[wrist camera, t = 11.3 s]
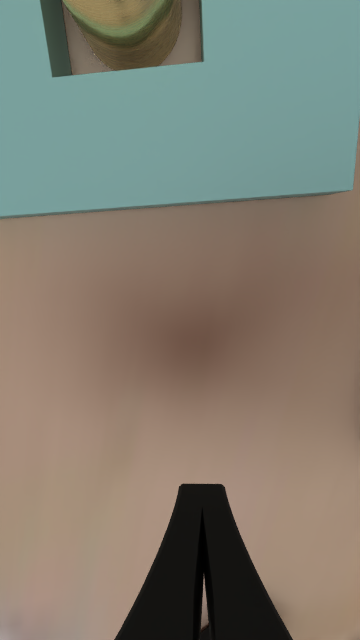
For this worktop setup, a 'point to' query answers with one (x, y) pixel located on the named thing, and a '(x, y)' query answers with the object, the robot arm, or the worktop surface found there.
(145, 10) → the peg
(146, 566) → the worktop surface
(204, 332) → the worktop surface
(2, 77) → the jig
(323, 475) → the worktop surface
